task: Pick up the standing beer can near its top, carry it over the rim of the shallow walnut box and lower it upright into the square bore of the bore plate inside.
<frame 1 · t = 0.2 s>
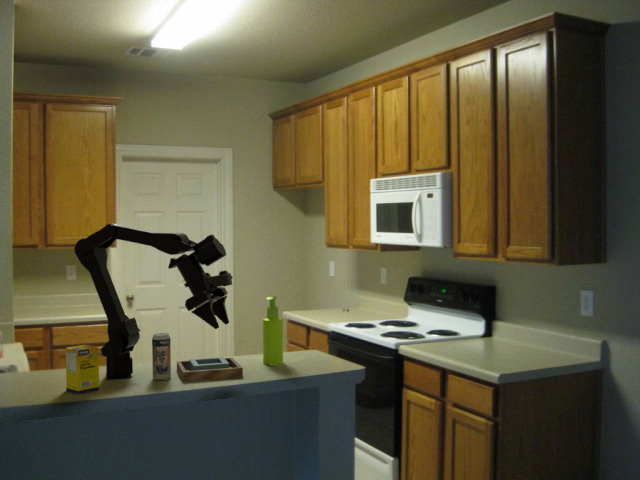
hand: (222, 325, 181), 14 cm above the table, tool tilted 30°, fingers open, 9 cm apart
soap dispenser: (272, 364, 203), on the table
supplement box: (82, 391, 172), on the table
beer can: (161, 379, 184), on the table
bore plate: (208, 366, 190), in the walnut box
walnut box: (208, 373, 190), on the table
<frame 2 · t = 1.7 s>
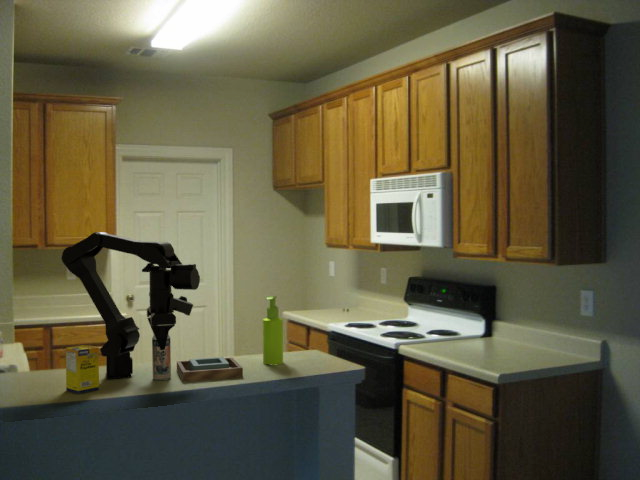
hand: (161, 346, 184), 9 cm above the table, tool pointing down, fingers open, 9 cm apart
nothing on the table moved.
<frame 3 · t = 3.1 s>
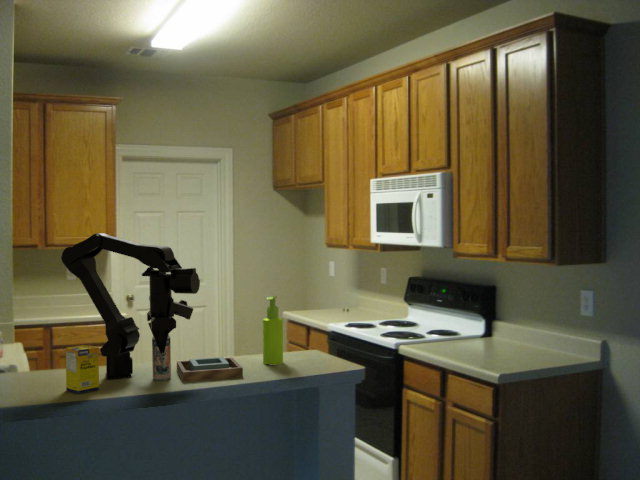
hand: (161, 350, 184), 8 cm above the table, tool pointing down, fingers closed on beer can, 5 cm apart
beer can: (161, 379, 184), on the table, touching gripper
everything else where it was.
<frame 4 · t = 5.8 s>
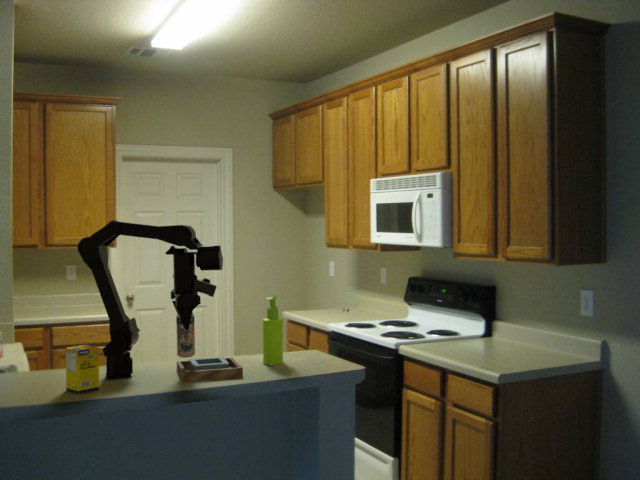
hand: (185, 328, 187), 13 cm above the table, tool pointing down, fingers closed on beer can, 5 cm apart
beer can: (186, 357, 187), point 5 cm above the table, touching gripper
everything else where it was.
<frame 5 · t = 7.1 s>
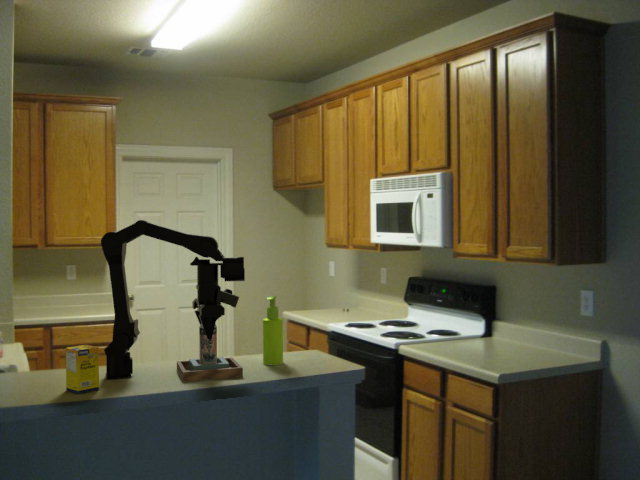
hand: (208, 337, 190), 10 cm above the table, tool pointing down, fingers closed on beer can, 5 cm apart
beer can: (208, 366, 190), point 2 cm above the table, touching gripper
everything else where it was.
when the fingers open (9 cm above the table, at t = 8.3 s): beer can stays where it is, resting on walnut box.
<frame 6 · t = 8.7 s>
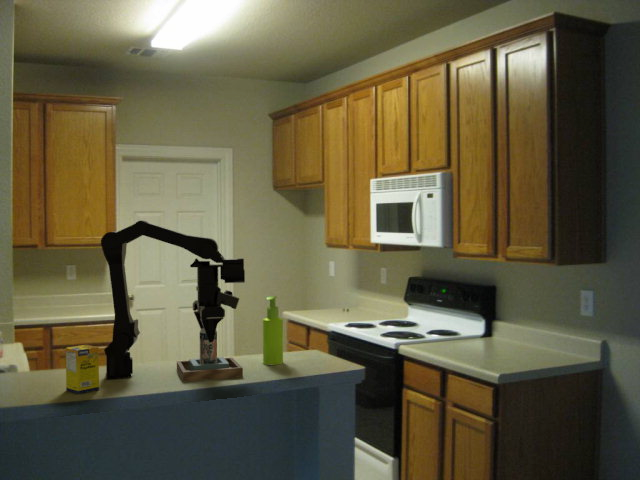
hand: (208, 339, 190), 9 cm above the table, tool pointing down, fingers open, 9 cm apart
beer can: (208, 372, 190), resting on walnut box
everything else where it was.
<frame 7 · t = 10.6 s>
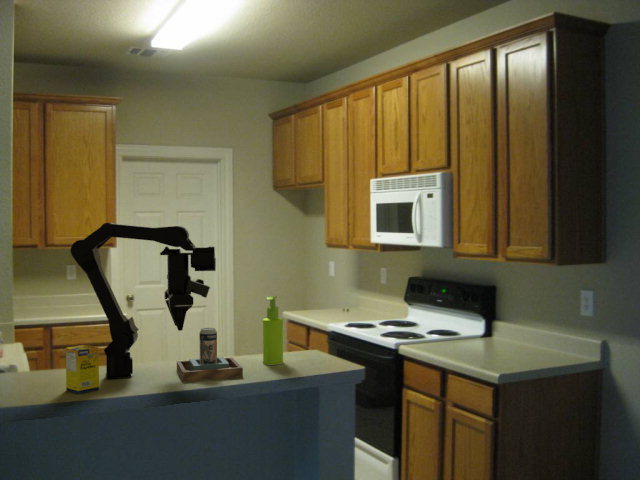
hand: (178, 327, 189), 13 cm above the table, tool pointing down, fingers open, 9 cm apart
nothing on the table moved.
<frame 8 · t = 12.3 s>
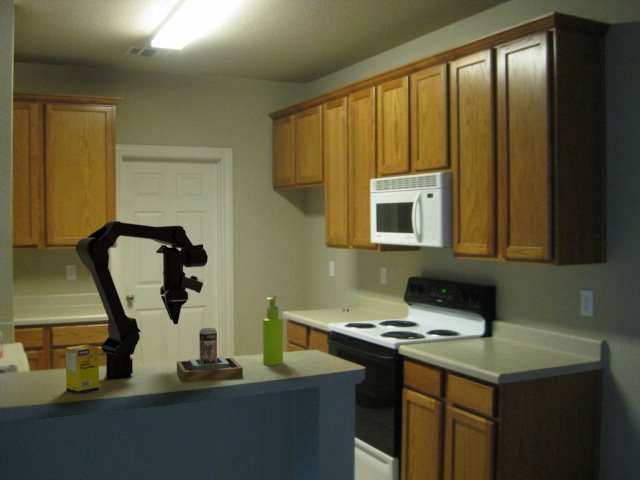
hand: (173, 321, 200), 13 cm above the table, tool pointing down, fingers open, 9 cm apart
nothing on the table moved.
at the end: beer can 0.1 cm off-centre on the bore plate, point 0.2 cm above the bore plate's base; beer can tilted 0°; the gripper is holding nothing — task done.
